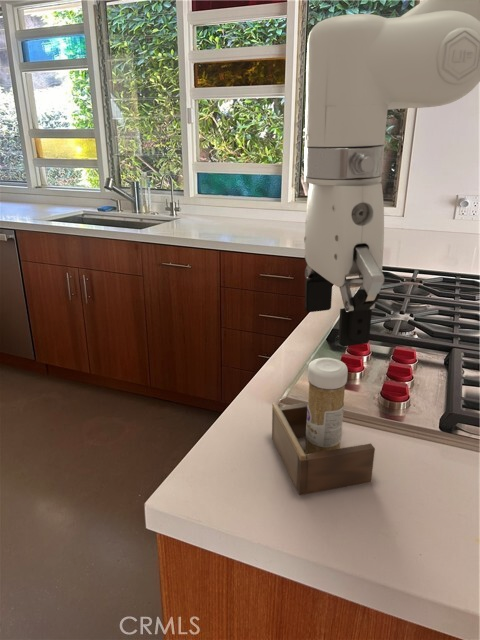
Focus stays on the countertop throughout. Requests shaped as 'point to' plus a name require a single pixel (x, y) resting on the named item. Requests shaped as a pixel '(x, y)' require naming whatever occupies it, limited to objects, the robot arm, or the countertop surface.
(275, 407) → the u-shaped bracket
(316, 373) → the sprinkles bottle
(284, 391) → the countertop surface
